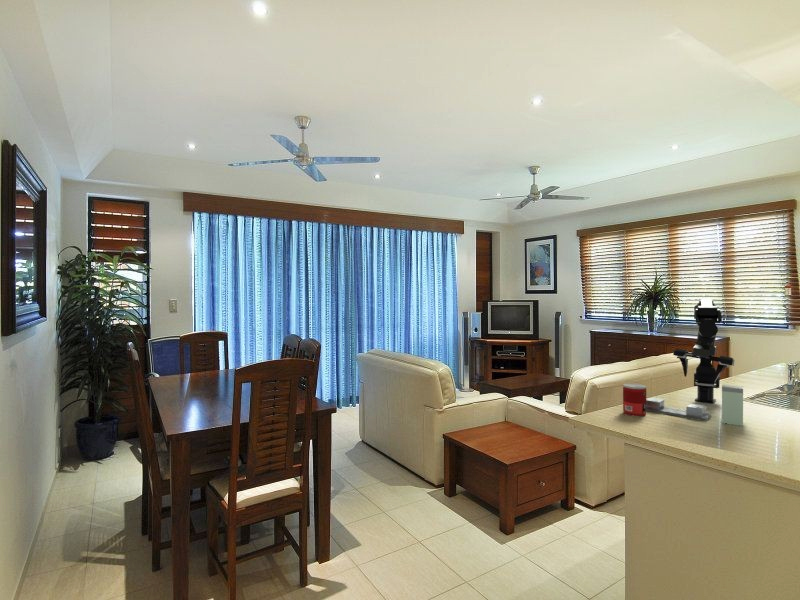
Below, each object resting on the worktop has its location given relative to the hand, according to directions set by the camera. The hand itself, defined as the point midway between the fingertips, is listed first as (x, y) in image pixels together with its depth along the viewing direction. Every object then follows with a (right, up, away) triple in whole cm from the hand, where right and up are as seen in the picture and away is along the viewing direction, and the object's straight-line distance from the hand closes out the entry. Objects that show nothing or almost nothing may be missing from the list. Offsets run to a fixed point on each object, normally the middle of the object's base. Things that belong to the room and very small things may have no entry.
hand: (699, 379), depth 168 cm
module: (+5, -14, -9) cm, 18 cm away
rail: (-7, -14, +4) cm, 16 cm away
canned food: (-23, -14, +4) cm, 27 cm away
